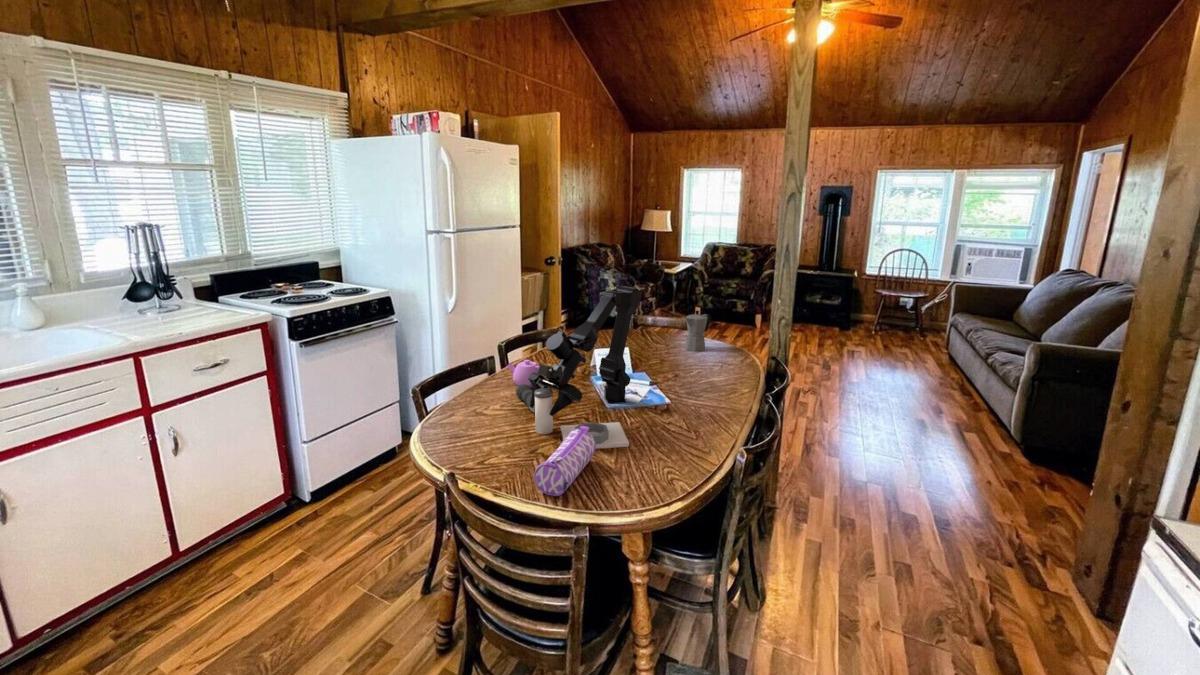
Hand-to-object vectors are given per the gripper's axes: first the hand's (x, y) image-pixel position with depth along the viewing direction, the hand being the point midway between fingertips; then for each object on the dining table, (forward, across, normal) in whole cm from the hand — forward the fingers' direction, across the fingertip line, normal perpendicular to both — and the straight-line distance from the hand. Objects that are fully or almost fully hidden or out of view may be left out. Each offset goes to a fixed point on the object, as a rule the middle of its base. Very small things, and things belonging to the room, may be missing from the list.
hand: (540, 411), depth 162 cm
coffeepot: (-72, -12, +81) cm, 109 cm away
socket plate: (-1, +14, +10) cm, 18 cm away
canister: (+4, 0, +6) cm, 7 cm away
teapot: (-12, -34, +22) cm, 43 cm away
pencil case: (+14, +24, -4) cm, 28 cm away
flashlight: (-4, -18, +14) cm, 23 cm away
